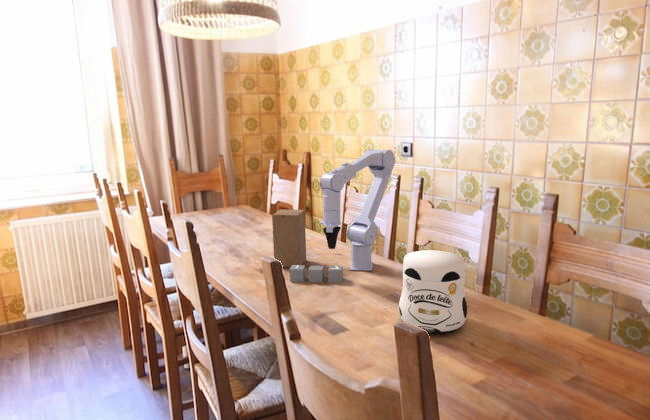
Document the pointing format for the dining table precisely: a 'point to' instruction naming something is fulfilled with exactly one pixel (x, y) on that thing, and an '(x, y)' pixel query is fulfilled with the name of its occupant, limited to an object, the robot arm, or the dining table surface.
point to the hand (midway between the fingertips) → (332, 248)
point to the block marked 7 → (335, 274)
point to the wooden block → (289, 237)
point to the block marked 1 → (297, 273)
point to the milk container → (433, 291)
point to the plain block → (316, 273)
